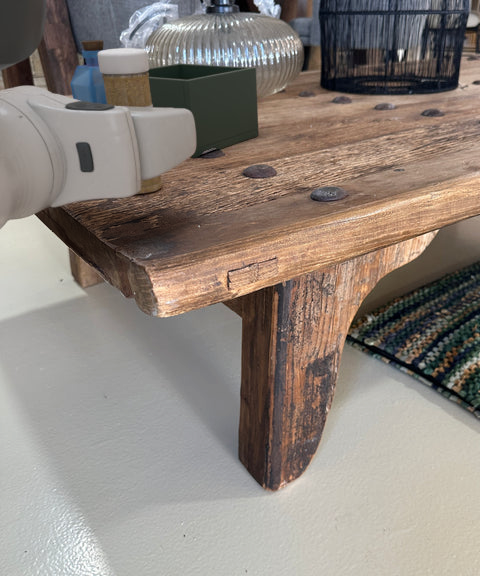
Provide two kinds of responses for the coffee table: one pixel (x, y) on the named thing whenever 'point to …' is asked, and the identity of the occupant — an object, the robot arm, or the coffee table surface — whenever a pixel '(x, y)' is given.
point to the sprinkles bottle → (128, 87)
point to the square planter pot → (210, 100)
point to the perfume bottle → (89, 75)
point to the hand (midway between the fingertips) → (124, 114)
